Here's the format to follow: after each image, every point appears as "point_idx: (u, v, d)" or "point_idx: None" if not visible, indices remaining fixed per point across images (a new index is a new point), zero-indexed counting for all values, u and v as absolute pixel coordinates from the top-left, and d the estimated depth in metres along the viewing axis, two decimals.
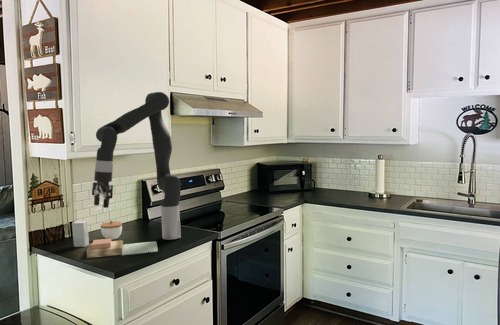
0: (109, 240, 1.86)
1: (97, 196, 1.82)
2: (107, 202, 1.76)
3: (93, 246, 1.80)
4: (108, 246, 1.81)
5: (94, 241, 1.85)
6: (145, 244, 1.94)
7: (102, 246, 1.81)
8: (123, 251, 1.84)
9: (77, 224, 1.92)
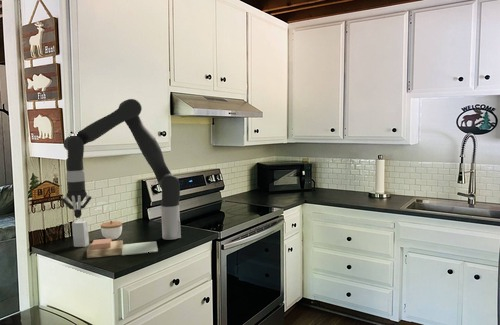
0: (109, 240, 1.86)
1: None
2: None
3: (93, 246, 1.80)
4: (108, 246, 1.81)
5: (94, 241, 1.85)
6: (145, 244, 1.94)
7: (102, 246, 1.81)
8: (123, 251, 1.84)
9: (77, 224, 1.92)
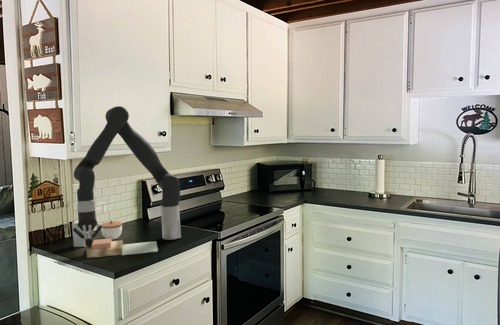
0: (109, 240, 1.86)
1: None
2: (91, 240, 1.83)
3: (93, 246, 1.80)
4: (108, 246, 1.81)
5: (94, 241, 1.85)
6: (145, 244, 1.94)
7: (102, 246, 1.81)
8: (123, 251, 1.84)
9: None
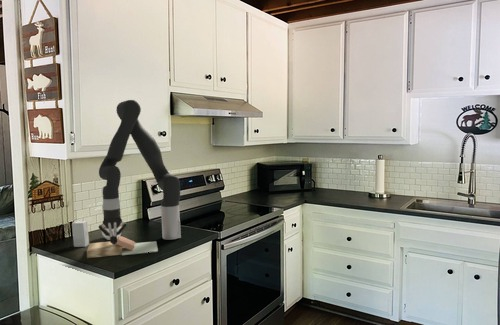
0: (133, 243, 1.89)
1: (112, 235, 1.86)
2: (116, 238, 1.86)
3: (119, 242, 1.83)
4: (131, 248, 1.84)
5: (120, 236, 1.88)
6: (145, 244, 1.94)
7: (126, 246, 1.84)
8: (123, 251, 1.84)
9: (77, 224, 1.92)
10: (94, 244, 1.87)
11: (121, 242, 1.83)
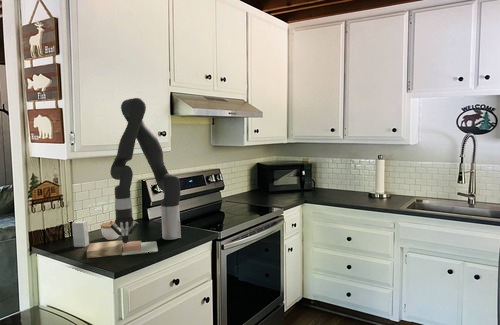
0: (139, 242, 1.89)
1: None
2: (128, 237, 1.88)
3: (124, 248, 1.83)
4: (139, 248, 1.85)
5: (125, 243, 1.89)
6: (145, 244, 1.94)
7: (133, 248, 1.85)
8: None
9: (77, 224, 1.92)
10: (94, 244, 1.87)
11: (127, 248, 1.84)
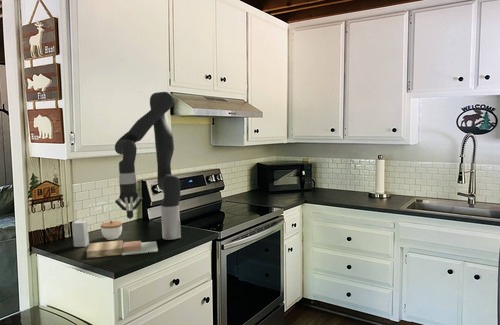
0: (139, 242, 1.89)
1: None
2: None
3: (124, 248, 1.83)
4: (139, 248, 1.85)
5: (125, 243, 1.89)
6: (145, 244, 1.94)
7: (133, 248, 1.85)
8: None
9: (77, 224, 1.92)
10: (94, 244, 1.87)
11: (127, 248, 1.84)
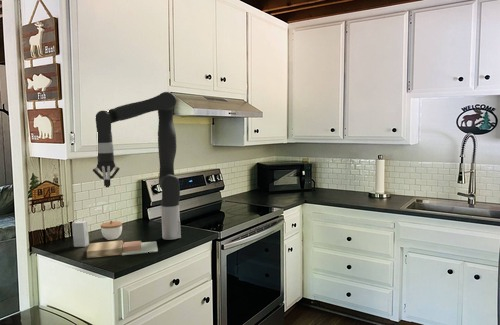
0: (139, 242, 1.89)
1: (106, 178, 1.93)
2: None
3: (124, 248, 1.83)
4: (139, 248, 1.85)
5: (125, 243, 1.89)
6: (145, 244, 1.94)
7: (133, 248, 1.85)
8: None
9: (77, 224, 1.92)
10: (94, 244, 1.87)
11: (127, 248, 1.84)
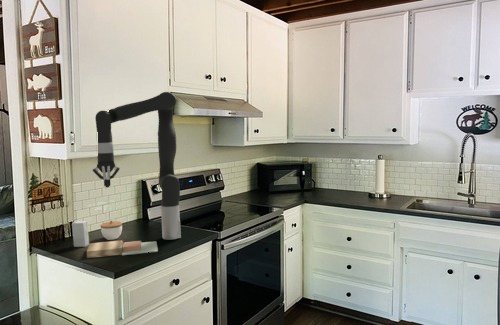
0: (139, 242, 1.89)
1: (106, 178, 1.93)
2: None
3: (124, 248, 1.83)
4: (139, 248, 1.85)
5: (125, 243, 1.89)
6: (145, 244, 1.94)
7: (133, 248, 1.85)
8: None
9: (77, 224, 1.92)
10: (94, 244, 1.87)
11: (127, 248, 1.84)
